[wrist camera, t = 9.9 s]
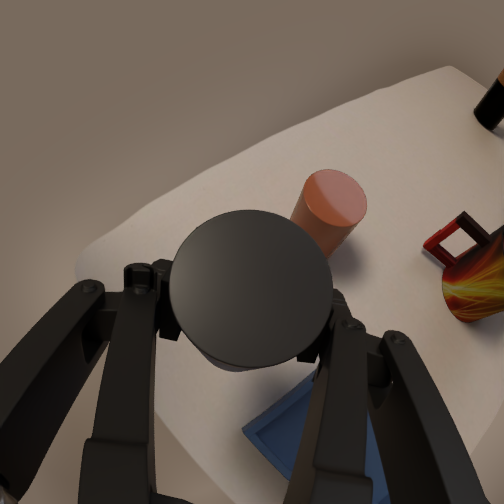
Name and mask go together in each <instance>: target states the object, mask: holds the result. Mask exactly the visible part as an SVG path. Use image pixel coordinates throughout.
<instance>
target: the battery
mask: <svg viewBox="0 0 504 504" xmlns="http://www.w3.org/2000/svg"><path fill="white" fill-rule="evenodd" d="M474 114H475V116H476V117H477V119H478V120H479V121H480V122H481V123H482V124H483V125H484V126H485V127H486V128H488V129H490V130H494V129H495V128H496V126H497V125H498V124H499V123H500V122H501V121H502V119H503V118H504V69H503V70H502V72H501V73H500V74H499V76H498V78H497V79H496V80H495V82H494V83H493V84H492V86H491V87H490V89H489V90H488V91H487V93H486V94H485V95H484V97H483V98H482V100H481V101H480V102H479V104H478V105H477V106H476V108H475V109H474Z"/></svg>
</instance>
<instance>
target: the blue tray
mask: <svg viewBox="0 0 504 504" xmlns="http://www.w3.org/2000/svg"><path fill="white" fill-rule="evenodd" d="M315 371H316V369H315V370H314V371H313V372H312V373H311V374H310V375H309V376H307V377H306V378H305V379H304V380H303V381H302V382H300V383H299V384H298V385H297V386H296V387H294V388H293V389H292V390H291V391H290V392H288V393H287V394H286V395H285V396H283V397H282V398H281V399H280V400H278V401H277V402H276V403H275V404H273V405H272V406H271V407H270V408H268V409H267V410H266V411H264V412H263V413H262V414H260V415H259V416H258V417H256V418H255V419H254V420H252V421H251V422H250V423H248V424H247V425H246V426H244V427H243V428H242V431H243V433H244V434H245V436H246V437H247V438H248V439H249V440H250V441H251V442H252V443H253V444H254V446H255V447H256V448H257V449H258V450H259V451H260V452H261V453H262V454H263V455H264V456H265V457H266V458H267V459H268V460H269V462H270V463H271V464H272V465H273V466H274V467H275V468H276V469H277V470H278V471H279V472H280V473H281V474H282V475H283V476H284V477H285V478H286V479H287V480H288V481H289V482H290V478H291V474H292V471H293V467H294V464H295V460H296V456H297V452H298V448H299V445H300V441H301V437H302V432H303V428H304V424H305V420H306V416H307V411H308V407H309V402H310V398H311V393H312V388H313V383H314V382H311V381H312V378H313V376H314V374H315ZM365 475H366V477H370V478H371V479H372V481H373V498H372V504H391V502H390V497H389V493H388V488H387V484H386V480H385V475H384V471H383V467H382V463H381V459H380V454H379V451H378V447H377V443H376V439H375V435H374V431H373V427H372V424H371V420H370V416H369V413H368V415H367V443H366V460H365Z"/></svg>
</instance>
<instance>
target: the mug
mask: <svg viewBox="0 0 504 504" xmlns="http://www.w3.org/2000/svg"><path fill="white" fill-rule="evenodd" d="M460 227H461V228H462V229H463V230H464V231H465V232H466V233H467V234H468V235H469V236H470V237H471V238H472V239H474V240H475V241H476V242H477V244H475V245H474V246H472V247H471V248H469V249H468V250H466V251H465V252H463V253H462V254H460V255H459V256H457V257H456V258H454V257H453V256H452V255H451V254H450V253H449V252H448V251H446V250H445V249H444V248H443V247H442V246H441V245H440V244H439V243H440V242H442V241H443V240H444V239H446V238H447V237H448V236H450V235H451V234H452V233H454V232H455V231H456V230H457V229H459V228H460ZM423 247H424V248H425V249H426V250H427V251H429V252H430V253H431V254H432V255H433V256H434V257H436V258H437V259H438V260H439V261H440V262H442V263H443V264H444V265H445V266H446V267H445V269H444V272H443V277H442V289H443V294H444V298H445V301H446V304H447V306H448V307H449V309H450V311H451V312H452V314H453V315H454V316H455V317H456V318H457V319H459V320H461V321H463V322H468V323H470V322H474V321H477V320H479V319H482V318H485V317H488V316H491V315H493V314H496V313H499V312H501V311H504V225H503V226H501V227H500V228H499V229H497V230H496V231H494V232H493V233H492V234H490V235H489V234H488V233H487V232H486V231H485V230H484V229H483V228H482V227H481V226H480V225H479V224H478V223H477V222H476V221H475V220H474V219H473V218H471V217H470V216H469V215H468V214H467V213H466V212H465V211H463V212H462V213H461V214H460V215H459V216H457V217H456V218H455V219H454V220H453V221H451V222H450V223H449V224H448V225H446V226H445V227H444V228H443V229H441V230H439V231H438V232H437V233H435V234H434V235H433V236H432V237H430V238H429V239H428V240H426V241H425V243H424V245H423Z"/></svg>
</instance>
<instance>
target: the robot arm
mask: <svg viewBox="0 0 504 504" xmlns="http://www.w3.org/2000/svg"><path fill="white" fill-rule="evenodd" d="M196 228H197V227H196ZM172 263H173V261H170V260H165V259H159V260H157V261H155V262H153V263H152V265H150V264H147V263H133V264H129V265H127V266H126V267H125V268H124V290H123V292H105V287H104V284H103V283H101V282H100V281H97V280H92V279H86V280H83V281H80V282H78V283H76V284H75V285H74V286H73V287H72V288H71V289H70V290H69V291H68V292H67V293H66V294H65V295H64V296H63V297H62V298H61V299H60V300H59V301H58V302H57V303H56V304H55V305H54V306H53V307H52V308H51V309H50V310H49V311H48V312H47V313H46V314H45V315H44V316H43V317H42V318H41V319H40V320H39V321H38V322H37V323H36V324H35V325H34V326H33V327H32V329H31V330H30V331H29V332H28V333H27V334H26V335H25V336H24V337H23V338H22V339H21V341H20V342H19V343H18V344H17V345H16V346H15V347H14V348H13V350H12V351H11V352H10V353H9V354H8V355H7V357H6V358H5V359H4V360H3V361H2V362H1V363H0V504H18V501H20V500H21V498H22V497H23V495H24V494H25V493H26V491H27V490H28V489H29V487H30V485H31V483H32V481H33V479H34V478H35V476H36V474H37V472H38V469H39V467H40V465H41V463H42V461H43V459H44V457H45V455H46V453H47V451H48V449H49V447H50V445H51V443H52V441H53V440H54V438H55V436H56V434H57V432H58V430H59V428H60V426H61V424H62V423H63V421H64V419H65V417H66V415H67V414H68V412H69V410H70V408H71V406H72V404H73V403H74V401H75V399H76V397H77V396H78V394H79V392H80V390H81V389H82V387H83V385H84V383H85V382H86V380H87V378H88V377H89V375H90V373H91V372H92V370H93V368H94V367H95V365H96V363H97V361H98V360H99V358H100V357H101V355H102V354H103V352H104V350H105V349H106V347H107V345H108V343H109V341H110V343H109V347H108V352H107V357H106V361H105V366H104V370H103V375H102V380H101V385H100V390H99V396H98V401H97V407H96V413H95V420H94V427H93V433H92V436H91V438H88V439H86V441H85V443H84V448H83V455H82V462H81V472H80V481H79V493H78V504H193V503H190V502H188V501H186V500H183V499H178V498H174V497H170V496H165V495H162V494H158V493H157V489H156V474H155V450H154V449H155V447H154V387H155V358H156V334H157V332H158V330H159V338H164V339H168V340H173V341H177V340H178V337H179V335H180V332H181V328H180V326H179V325H178V323H177V321H176V319H175V316H174V314H173V311H172V307H171V303H170V298H169V276H170V270H171V266H172ZM318 353H319V358H320V361H319V364H318V366H317V369H316V371H315V374H314V376H313V378H312V381H311V382H314V383H313V388H312V393H311V398H310V402H309V407H308V411H307V416H306V420H305V424H304V428H303V432H302V437H301V441H300V445H299V448H298V452H297V456H296V460H295V464H294V467H293V471H292V474H291V478H290V482H289V485H288V488H287V492H286V495H285V498H284V501H283V504H372V498H373V481H372V479H371V478H370V477H366V475H365V460H366V443H367V415H368V413H369V416H370V420H371V424H372V427H373V431H374V435H375V439H376V443H377V447H378V451H379V454H380V459H381V463H382V467H383V471H384V475H385V480H386V484H387V488H388V493H389V497H390V502H391V504H490V502H489V501H488V500H487V498H486V497H485V494H484V492H483V489H482V486H481V484H480V481H479V479H478V477H477V474H476V471H475V469H474V467H473V464H472V461H471V459H470V457H469V454H468V452H467V450H466V447H465V445H464V443H463V441H462V438H461V436H460V434H459V432H458V430H457V428H456V425H455V423H454V421H453V419H452V417H451V415H450V413H449V411H448V409H447V407H446V405H445V403H444V401H443V399H442V397H441V395H440V393H439V391H438V389H437V387H436V385H435V383H434V381H433V379H432V377H431V376H430V374H429V372H428V370H427V368H426V366H425V364H424V363H423V361H422V359H421V357H420V355H419V354H418V352H417V350H416V348H415V347H414V345H413V343H412V341H411V340H410V339H409V337H407V336H406V335H405V334H404V333H402V332H399V331H394V330H388V331H386V332H385V333H384V335H383V337H382V338H379V337H376V336H373V335H370V334H367V333H366V328H365V325H364V324H363V323H362V322H360V321H359V320H357V319H355V318H353V317H352V315H351V312H350V310H349V308H348V306H347V303H346V301H345V298H344V296H343V294H342V293H341V292H340V291H338V290H337V289H334V288H333V301H332V307H331V311H330V315H329V318H328V320H327V322H326V324H325V327H324V328H323V330H322V331H321V333H320V335H319V336H318V337H317V338H316V340H315V341H314V342H313V343H312V344H311V345H310V346H309V347H308V348H307V349H306V350H305V351H303V352H302V353H300V354H299V355H297V362H306V363H315V361H316V358H317V356H318ZM392 381H393V383H392Z"/></svg>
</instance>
